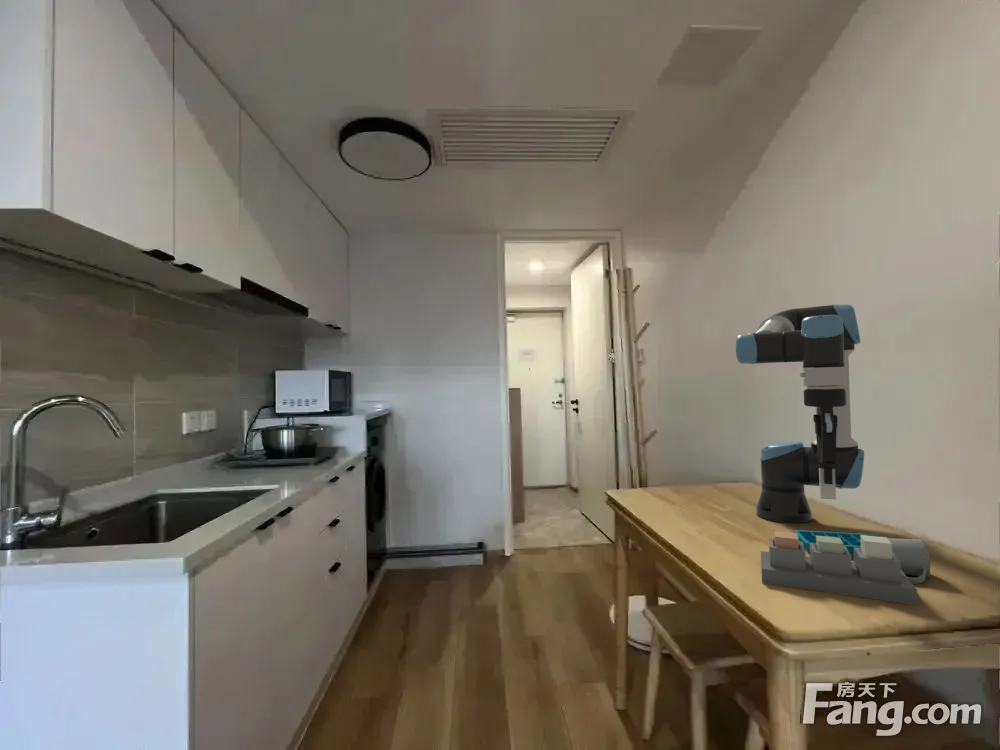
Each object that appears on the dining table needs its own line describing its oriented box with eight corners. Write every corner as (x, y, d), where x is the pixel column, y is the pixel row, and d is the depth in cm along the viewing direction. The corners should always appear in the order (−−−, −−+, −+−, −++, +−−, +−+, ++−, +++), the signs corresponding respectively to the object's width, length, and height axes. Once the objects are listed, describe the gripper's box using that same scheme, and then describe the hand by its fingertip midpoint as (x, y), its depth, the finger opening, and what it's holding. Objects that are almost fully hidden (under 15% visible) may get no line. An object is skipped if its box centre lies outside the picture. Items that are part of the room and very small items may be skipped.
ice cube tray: (793, 541, 133) (792, 529, 133) (881, 546, 127) (880, 534, 127) (807, 555, 121) (806, 543, 122) (904, 562, 116) (903, 549, 116)
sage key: (816, 555, 108) (815, 535, 108) (840, 558, 106) (840, 537, 106) (819, 562, 104) (818, 541, 104) (844, 565, 102) (843, 543, 102)
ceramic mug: (875, 564, 114) (874, 531, 114) (920, 569, 110) (919, 535, 110) (888, 582, 105) (886, 546, 105) (937, 588, 101) (936, 551, 101)
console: (761, 563, 116) (760, 534, 116) (900, 581, 104) (898, 548, 104) (762, 582, 105) (761, 549, 105) (917, 605, 93) (915, 568, 94)
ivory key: (861, 556, 104) (860, 534, 104) (887, 559, 102) (886, 537, 102) (865, 563, 100) (864, 541, 100) (892, 566, 98) (891, 543, 98)
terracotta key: (774, 551, 111) (774, 531, 111) (797, 553, 109) (796, 533, 109) (775, 557, 107) (774, 536, 108) (799, 560, 105) (798, 539, 106)
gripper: (800, 387, 113) (804, 490, 113) (806, 389, 101) (810, 503, 101) (840, 386, 109) (843, 493, 109) (850, 388, 98) (855, 507, 98)
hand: (827, 498), depth 105 cm, fingers closed
